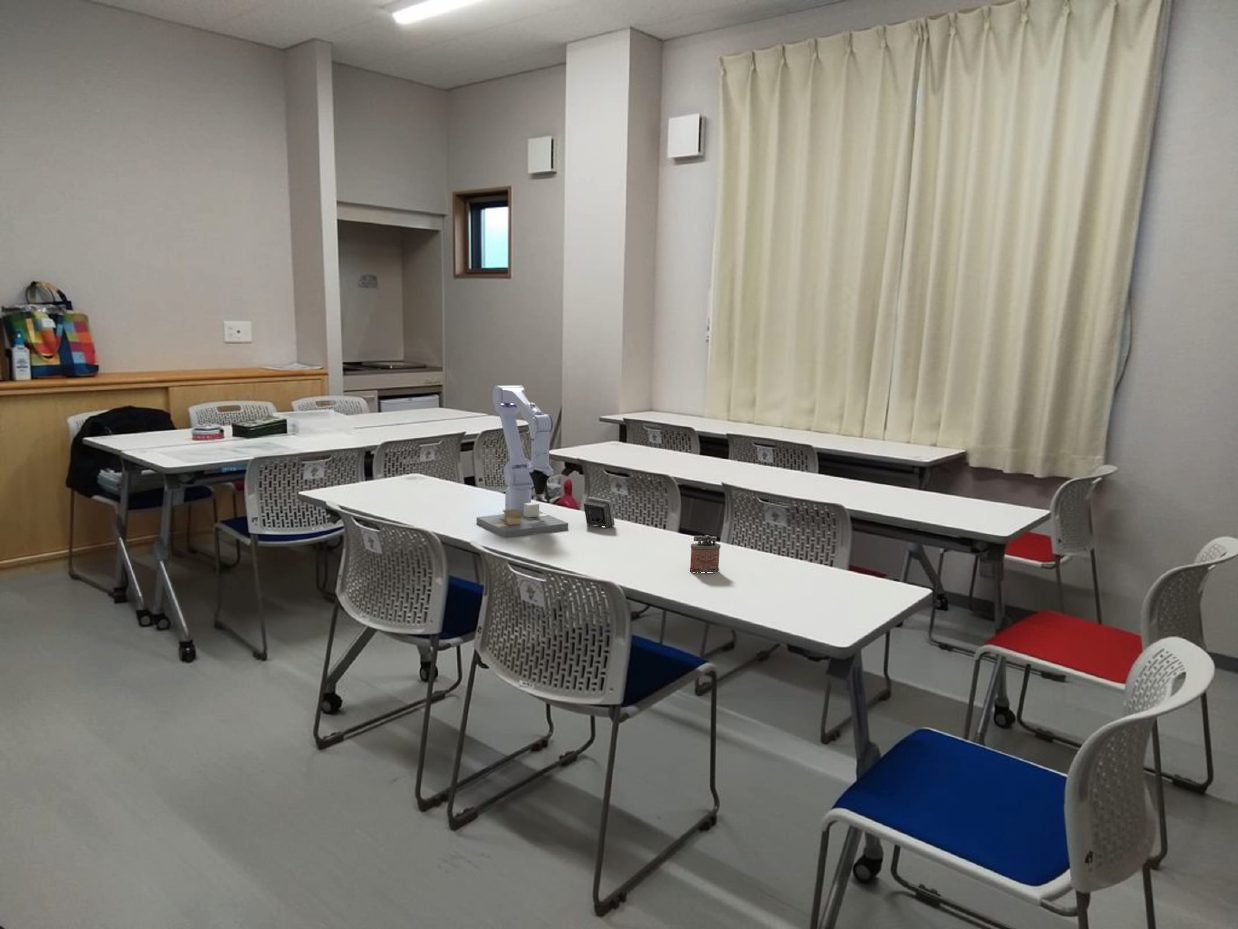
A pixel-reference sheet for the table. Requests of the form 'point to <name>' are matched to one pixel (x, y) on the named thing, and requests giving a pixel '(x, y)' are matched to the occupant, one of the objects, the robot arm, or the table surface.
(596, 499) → the electrical switch
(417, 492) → the table surface
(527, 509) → the switch white
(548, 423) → the robot arm
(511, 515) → the wooden block
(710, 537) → the lighter
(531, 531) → the grey base plate
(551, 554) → the table surface
